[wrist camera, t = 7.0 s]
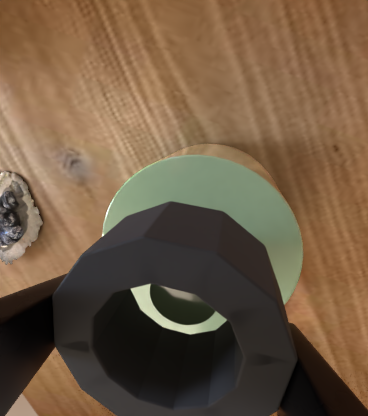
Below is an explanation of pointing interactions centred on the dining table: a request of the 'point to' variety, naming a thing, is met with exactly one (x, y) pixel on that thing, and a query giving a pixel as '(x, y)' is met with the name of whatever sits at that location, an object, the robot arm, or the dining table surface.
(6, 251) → the blueberry tart
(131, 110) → the dining table surface
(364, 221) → the dining table surface
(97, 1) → the dining table surface
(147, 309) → the green cylinder with peg
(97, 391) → the rubber ring
